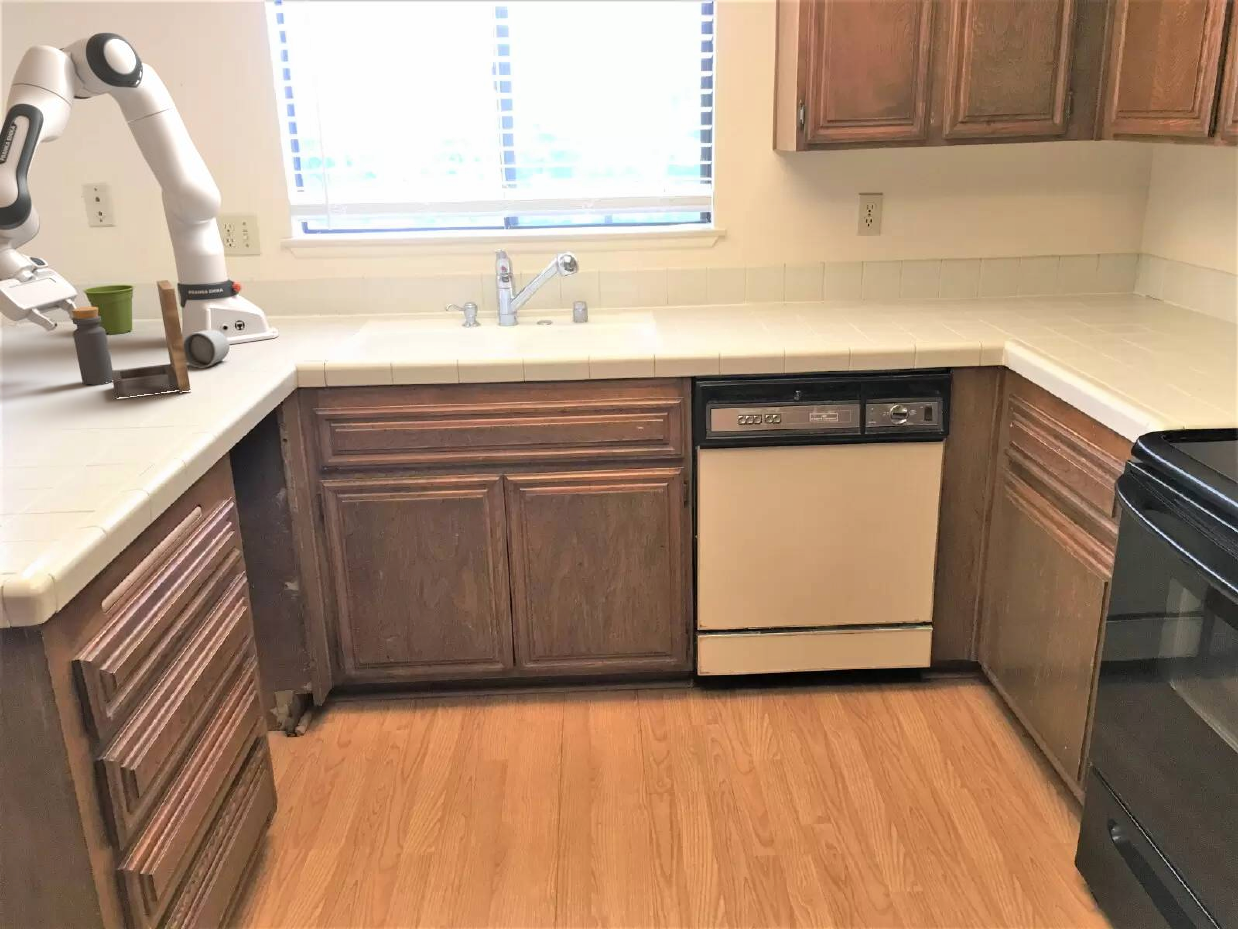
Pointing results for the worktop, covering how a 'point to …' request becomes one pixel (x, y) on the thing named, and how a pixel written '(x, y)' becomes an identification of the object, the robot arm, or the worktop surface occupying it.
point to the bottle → (91, 346)
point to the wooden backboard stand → (160, 375)
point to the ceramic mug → (205, 348)
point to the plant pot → (113, 306)
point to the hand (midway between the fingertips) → (67, 323)
